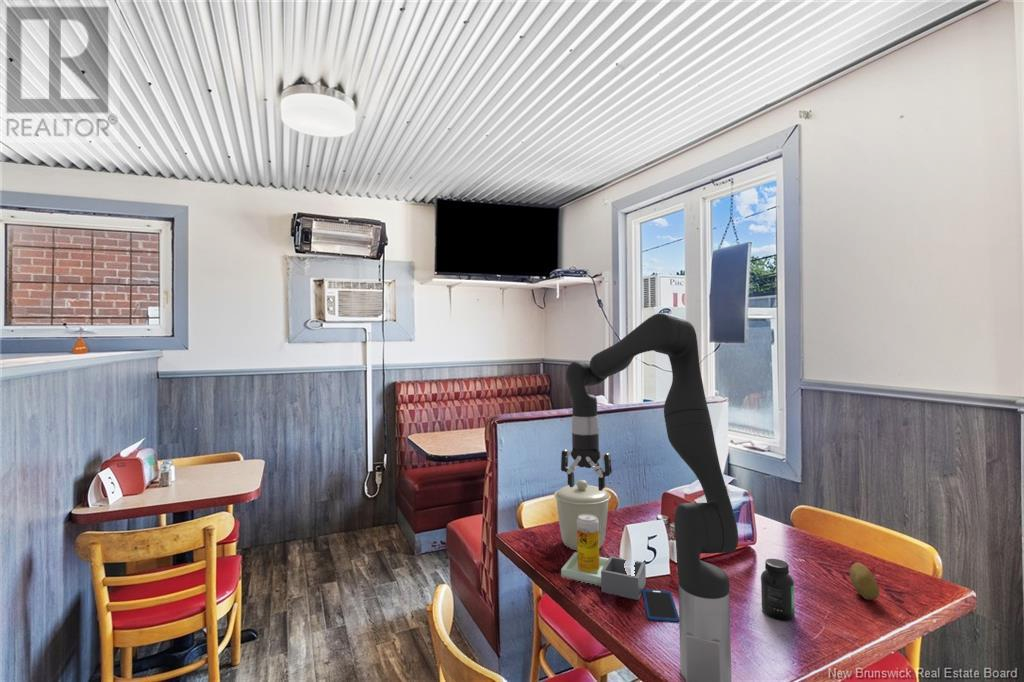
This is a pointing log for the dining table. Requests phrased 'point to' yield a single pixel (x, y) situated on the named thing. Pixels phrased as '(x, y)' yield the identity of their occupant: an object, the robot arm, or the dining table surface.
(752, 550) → the dining table surface
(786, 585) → the supplement bottle
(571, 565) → the tray
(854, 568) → the potato
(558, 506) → the canister
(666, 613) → the cell phone
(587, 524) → the beer can
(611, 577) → the holder
